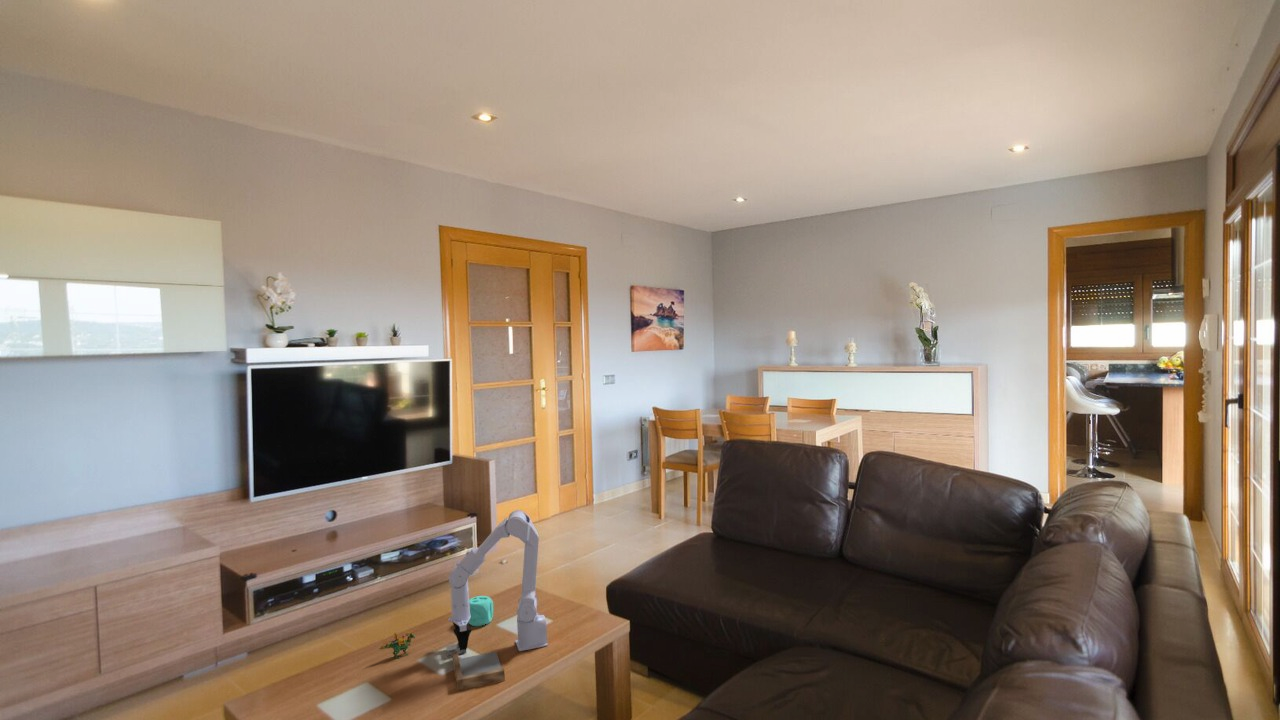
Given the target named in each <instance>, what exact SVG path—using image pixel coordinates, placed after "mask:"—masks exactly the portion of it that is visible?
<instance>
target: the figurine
mask: <svg viewBox="0 0 1280 720" xmlns="http://www.w3.org/2000/svg"><path fill="white" fill-rule="evenodd" d="M393 634H394V638H395V639H394V640H392V641H390V642H389V643H388V642H386V643H385V644H384V645H381V647H379V648H378V650H384V649H390V648H391V649H392V650H393V652H392V655H393V658H395V659H400V656H399V655H398V654H399V653H400V652H401V651H402V653H404V654H405V655H406V656H407V655H409V653H408V652H407V649H408V648H409V646H413V645H414V644H413V643H412V639H416V636H415V635H414V634H413V632H408V631H407V632H406V633H405V635H404V634H403V635H402V636H401V637H400V638H399V636H398V635H397V634H398V633H396V632H394V633H393ZM405 636H406V637H407V638H406V639H405Z"/></svg>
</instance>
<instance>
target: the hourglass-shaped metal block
mask: <svg viewBox="0 0 1280 720" xmlns="http://www.w3.org/2000/svg"><path fill="white" fill-rule="evenodd" d="M445 647H446V648H445V649H446V657H447V658H449V657H453V653H454V652H458V656H459V655H465V654H467V649H465V650H460V648H459V644H458V642H457V643H453V644H448V645H446V646H445Z"/></svg>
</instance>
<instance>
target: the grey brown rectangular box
mask: <svg viewBox="0 0 1280 720" xmlns="http://www.w3.org/2000/svg"><path fill="white" fill-rule="evenodd" d="M459 662H460V667H461V673H462V677H464V676H469V675H473V674H478V673H483V672H488V671H492V670H497V669H502V668H503V667H502V665H501V662H500V659H499V656H498V653H497V651H491V652H487V653H481V654H477V655H476V654H475V655H472V656H466V657H462V658H459Z"/></svg>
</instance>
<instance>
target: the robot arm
mask: <svg viewBox="0 0 1280 720" xmlns="http://www.w3.org/2000/svg"><path fill="white" fill-rule="evenodd" d="M510 535H511V536H512V537H514V538H518V539H519V540H520V541H521V542H523V544H524V554H523V565H522V566H523V567H522V568H523V569H522V582H521V583H522V584H521V594H520V595H521V596H520V597H519V599H518V607H517V610H516V615H517V616H516V627H517V629H516V630H517V639H515V640H514V641H515V644H516V646H517V650H518V651H519V652H523V651H529V650H532V649H538V648H543V647H547V646H548V629H547V620H546V617H545V615H544V614H539V613H538V611H537V607H538V599H537V595H536V585H537V570H538V569H537V568H538V557H539V556H538V555H539V545H540V543H539V541H540V540H539V539H540V536H539V533H538V531H537V529H536V527H535V525H534V523H533V521H532V520H531V517H530V515H528V514H527V513H526V512H524V511H522V510H519V509H516V510H514V511H511V513H509V515H508V516H506V517H505V518H504V519H503V520H501V522H500V523H499V524H498V525H497V526H496V527H495V528H494V529H493V530H492V531H491V533H490V534H489V535H488V536H487V537H486V539H484V541H483V542H482V544H480V545H479V547H473V548H472V549H468V550H467V551H466V552H465V556H464V557H463V558H462V559H461V560H460V561H458V562H456V564H455V566H453V568H452V570H451V572H450V574H449V575H448V582H449V584H450V601H451V602H450V603H451V616H450V617H448V620H447V621H448V623H449V622H450V623H451V622H452V624H453V626H454V628H453V634H454V635H455V637H456V640H457V643H458V644H459V648H460V650H465V649H466V650H467V649H468V646H469V645H468V644H469V638H470V635H471V633H472V630H473V626H468V624H469V623H468V621H469V620H470V618H471V615H470V604H469V600H470V588H469V580H468V578H469V577H470V576H472V575H473V574H475V572H476V571H477V570H478V569H479V568H480V567H481V566H482V565H483V563H484V562H485V561H486V554H488V552H490V550H491V549H492V548H493V547H495V546H496V544H497V543H498V542H499V541H500V540H502V539H503V538H506V539H507V538H510ZM467 626H468V627H467Z"/></svg>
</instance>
